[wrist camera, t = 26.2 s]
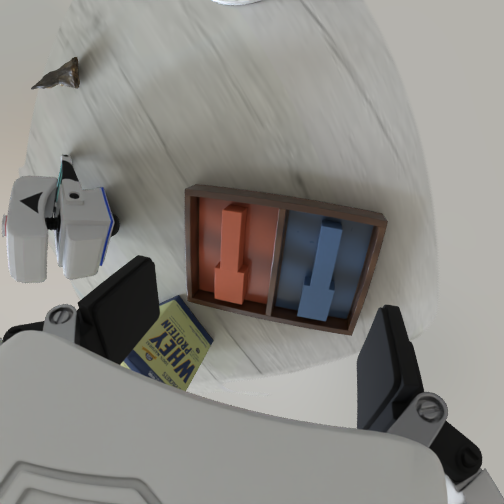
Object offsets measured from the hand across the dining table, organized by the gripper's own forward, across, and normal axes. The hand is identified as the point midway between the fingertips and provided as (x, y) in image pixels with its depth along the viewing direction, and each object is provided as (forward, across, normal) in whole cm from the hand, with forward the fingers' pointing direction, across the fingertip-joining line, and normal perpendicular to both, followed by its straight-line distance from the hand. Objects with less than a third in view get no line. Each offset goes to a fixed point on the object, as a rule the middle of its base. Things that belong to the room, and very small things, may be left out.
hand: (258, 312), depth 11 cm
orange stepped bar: (+24, +8, +10) cm, 27 cm away
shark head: (+24, +40, -17) cm, 50 cm away
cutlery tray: (+24, +2, +10) cm, 26 cm away
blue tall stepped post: (+24, -4, +10) cm, 26 cm away
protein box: (+24, +20, +28) cm, 42 cm away
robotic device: (+24, +34, +6) cm, 42 cm away
